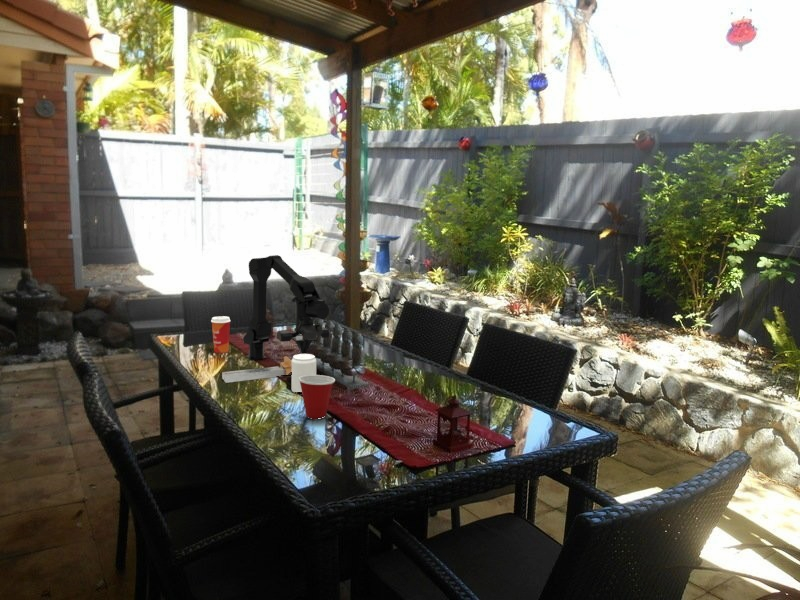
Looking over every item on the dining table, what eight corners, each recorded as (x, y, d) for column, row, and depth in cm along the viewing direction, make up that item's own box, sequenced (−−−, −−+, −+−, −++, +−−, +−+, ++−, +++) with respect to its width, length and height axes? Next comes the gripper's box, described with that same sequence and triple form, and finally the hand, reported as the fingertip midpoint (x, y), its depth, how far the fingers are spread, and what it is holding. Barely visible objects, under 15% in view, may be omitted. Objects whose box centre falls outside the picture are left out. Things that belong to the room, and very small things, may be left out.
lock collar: (280, 371, 239) (280, 356, 238) (286, 370, 240) (286, 356, 239) (286, 376, 233) (286, 361, 232) (292, 375, 234) (292, 361, 233)
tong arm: (278, 372, 238) (277, 366, 237) (279, 373, 236) (279, 367, 235) (222, 378, 228) (222, 372, 228) (223, 380, 227) (223, 373, 226)
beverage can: (303, 396, 212) (303, 361, 210) (286, 391, 217) (286, 356, 215) (321, 391, 218) (321, 356, 216) (304, 386, 223) (304, 352, 221)
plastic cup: (342, 414, 197) (342, 376, 194) (320, 425, 187) (320, 385, 185) (313, 407, 202) (313, 370, 200) (290, 418, 193) (290, 378, 191)
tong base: (222, 379, 228) (222, 372, 228) (287, 371, 240) (287, 365, 239) (226, 383, 224) (226, 376, 223) (291, 375, 235) (291, 368, 235)
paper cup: (210, 350, 267) (209, 316, 265) (229, 348, 270) (228, 315, 268) (213, 354, 260) (212, 320, 258) (232, 353, 263) (232, 319, 261)
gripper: (286, 321, 225) (286, 365, 228) (336, 317, 234) (335, 359, 237) (275, 315, 235) (276, 357, 237) (324, 312, 243) (323, 352, 246)
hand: (303, 357), depth 239 cm, fingers closed
